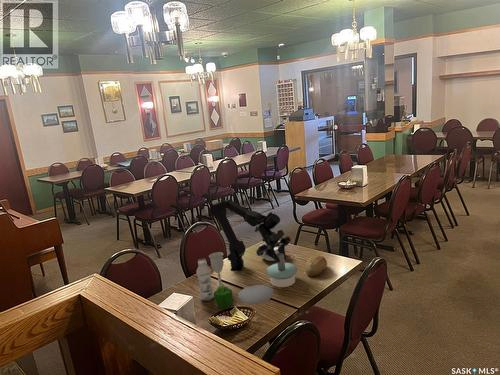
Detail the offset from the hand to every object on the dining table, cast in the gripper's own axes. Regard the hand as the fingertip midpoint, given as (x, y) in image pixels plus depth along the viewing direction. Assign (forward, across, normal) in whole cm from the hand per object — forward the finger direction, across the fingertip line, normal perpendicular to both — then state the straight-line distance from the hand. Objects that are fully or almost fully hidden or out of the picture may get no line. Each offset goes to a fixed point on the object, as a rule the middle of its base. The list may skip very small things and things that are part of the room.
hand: (282, 260), depth 173 cm
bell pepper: (+6, -33, +11) cm, 35 cm away
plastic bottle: (-1, -36, +19) cm, 40 cm away
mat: (+8, -17, +9) cm, 21 cm away
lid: (+3, 0, +5) cm, 6 cm away
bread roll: (+11, +19, +7) cm, 23 cm away
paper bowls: (-11, +14, +28) cm, 34 cm away
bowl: (+8, 0, +9) cm, 12 cm away
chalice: (-5, -26, +22) cm, 34 cm away
